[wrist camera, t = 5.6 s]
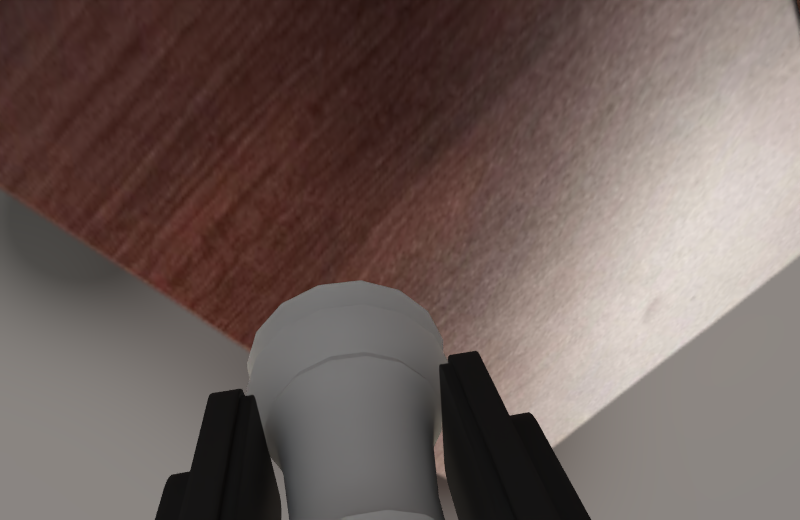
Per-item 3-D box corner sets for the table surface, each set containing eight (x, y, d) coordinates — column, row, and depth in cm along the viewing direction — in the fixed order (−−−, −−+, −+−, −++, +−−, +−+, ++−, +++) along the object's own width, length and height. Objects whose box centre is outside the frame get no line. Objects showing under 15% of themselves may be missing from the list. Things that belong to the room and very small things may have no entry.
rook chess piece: (333, 456, 14) (363, 932, 7) (205, 350, 12) (59, 860, 5) (474, 359, 13) (669, 771, 6) (363, 231, 11) (459, 614, 4)
